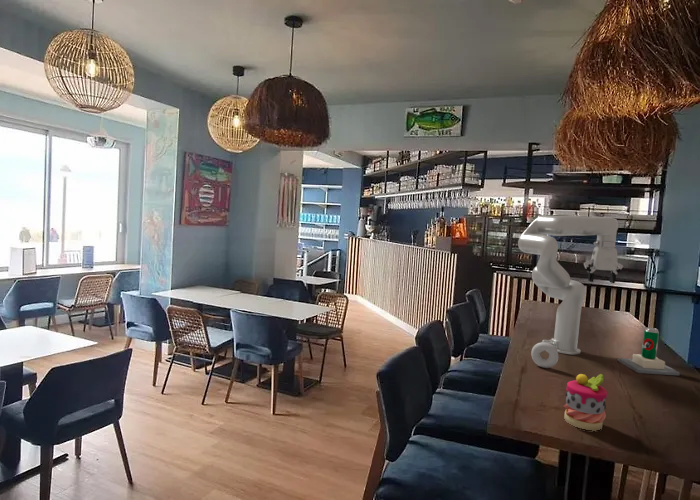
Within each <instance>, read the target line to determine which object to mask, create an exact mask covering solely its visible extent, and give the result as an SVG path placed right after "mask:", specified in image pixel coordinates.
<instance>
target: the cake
mask: <svg viewBox="0 0 700 500" xmlns="http://www.w3.org/2000/svg"><path fill="white" fill-rule="evenodd" d="M604 377H605V376H604V375H603V374H602V373H600V374H598V375H597V376H592V377H591V378H588V376H587V375H586V374H583V373H579V374H578V375H576V376H575V379H574V380H570V381H568V382H567V384H566V389H565V390H566V392H565V397H566V398H565V404H564V405H563V408H565V411H564V416H563V420H564V419H565V420H564V422H565V421H566V422H567V423H569V424H571V425H573V426H575V427H578V428H582V429H586V430H592V431H591V432H593V431H595V432H597V431H596V430H600V429H601V430H602V429H603V424H604V421H605V419H606V417H607V414H606V411H605V410H606V409H607V408H606V407H607V405H606V399H608V398H607V396H608V391H607V389H605V387H603V386H601V385H602V384H603V383H604ZM566 422H565V423H566ZM567 423H566V424H567ZM569 424H568V425H569ZM571 425H570V426H571ZM573 426H572V427H573ZM575 427H574V428H575ZM601 430H600V431H601Z"/></svg>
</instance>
